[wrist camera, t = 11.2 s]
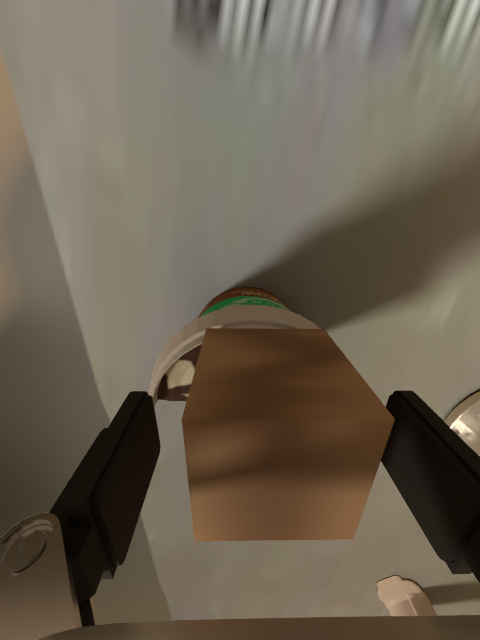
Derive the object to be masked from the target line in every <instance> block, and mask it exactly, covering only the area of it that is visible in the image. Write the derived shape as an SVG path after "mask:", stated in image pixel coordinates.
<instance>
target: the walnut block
mask: <svg viewBox="0 0 480 640" xmlns="http://www.w3.org/2000/svg"><path fill="white" fill-rule="evenodd" d="M394 421H395V419H394V417H393V416H392V415H391V413H390V412H389V411H388V410H387V408H386V407H385V406H384V405H383V403H382V402H381V401H380V400H379V398H378V397H377V396H376V394H375V393H374V392H373V391H372V389H371V388H370V387H369V386H368V384H367V383H366V382H365V380H364V379H363V378H362V377H361V375H360V374H359V373H358V372H357V370H356V369H355V368H354V367H353V365H352V364H351V363H350V361H349V360H348V359H347V358H346V356H345V355H344V354H343V353H342V351H341V350H340V349H339V347H338V346H337V345H336V344H335V342H334V341H333V340H332V339H331V337H330V336H329V335H328V333H327V332H326V331H325V330H324V329H252V328H206V331H205V335H204V338H203V342H202V346H201V350H200V353H199V357H198V361H197V365H196V368H195V372H194V376H193V380H192V383H191V387H190V391H189V395H188V398H187V402H186V406H185V410H184V413H183V417H182V425H183V435H184V444H185V454H186V464H187V473H188V483H189V492H190V502H191V511H192V521H193V530H194V540H195V541H242V540H330V539H353V538H354V535H355V532H356V530H357V527H358V524H359V521H360V518H361V515H362V512H363V510H364V507H365V504H366V501H367V498H368V495H369V492H370V489H371V487H372V484H373V481H374V478H375V475H376V472H377V469H378V467H379V464H380V461H381V458H382V455H383V452H384V449H385V446H386V444H387V441H388V438H389V435H390V432H391V429H392V426H393V424H394Z"/></svg>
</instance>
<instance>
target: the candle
mask: <svg viewBox="0 0 480 640" xmlns="http://www.w3.org/2000/svg"><path fill="white" fill-rule="evenodd" d="M376 585H377V586H378V588H379V589H378V593H377V594H378V596H379V598H380V599H381V600H382V601H383V602H384V603H385V605H386V606H387V607H388V609H389V611H390V613H391V615H392V616H437V614H436V612H435V610H434V608H433V606H432V605H431V603H430V601H429V599H428V597H427V595H426V594H425V593H424V592H423V591H422V590H421V589H420V587H419V586H418V585H417V584H415V583H414V582H412V581H411V580H407V579H401V578H400V577H399V576H392V577H390V578H386V579H384V580H381V581H379V582H378V583H377V584H376Z"/></svg>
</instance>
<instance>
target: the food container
mask: <svg viewBox="0 0 480 640" xmlns="http://www.w3.org/2000/svg"><path fill="white" fill-rule="evenodd" d="M206 328H252V329H321V328H319V327H318V326H317V325H316V324H315V323H313V322H311V321H310V320H308V319H306V318H304V317H302V316H301V315H299V314H296V313H293V312H292V311H291V310H290V309H289V308H288V307H287V306H286V305H285V304H284V303H283V302H282V301H281V300H280V299H278V298H277V297H276V296H275V295H274V294H272V293H270V292H267V291H265V290H263V289H259V288H254V287H240V288H234V289H231V290H228V291H225V292H223V293H221V294H219V295H218V296H216V297H215V298H213V299H212V300H211V301H210V302H209V303H208V304H207V305H206V307H205V308H204V309H203V311H202V312H201V314H200V315H199V317H198V318H197V319H195V320H194V321H192V322H191V323H189V324H187V325H186V326H184V327H183V328H182V329H181V330H180V331H179V332H177V333H176V334H175V335H174V336H173V337H172V338H171V339H170V340H169V342H168V343H167V344H166V346H165V347H164V348H163V350H162V351H161V353H160V355H159V357H158V359H157V361H156V364H155V367H154V371H153V374H152V379H151V385H150V390H149V395H151V396H152V398H153V404H154V406H155V404H156V402H157V401H158V399H160V400H168V401H187V398H188V395H189V391H190V387H191V383H192V380H193V376H194V372H195V368H196V365H197V361H198V357H199V353H200V350H201V346H202V342H203V338H204V335H205V331H206Z"/></svg>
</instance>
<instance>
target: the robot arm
mask: <svg viewBox="0 0 480 640" xmlns="http://www.w3.org/2000/svg"><path fill="white" fill-rule="evenodd" d="M386 408H387V410H388V411H389V412H390V413H391V415H392V416H393V417H394V419H395V421H394V424H393V426H392V429H391V432H390V435H389V438H388V441H387V444H386V446H385V449H384V452H383V455H382V458H381V461H382V463H383V465H384V466H385V468H386V470H387V472H388V473H389V475H390V477H391V478H392V480H393V482H394V483H395V485H396V487H397V488H398V490H399V492H400V493H401V495H402V497H403V498H404V500H405V502H406V504H407V505H408V507H409V509H410V510H411V512H412V514H413V515H414V517H415V519H416V520H417V522H418V524H419V525H420V527H421V529H422V530H423V532H424V534H425V535H426V537H427V539H428V541H429V542H430V544H431V546H432V547H433V549H434V551H435V552H436V554H437V555H438V556H439V558H440V559H442V560H443V561H445V562H446V564H447V565H448V567H449V569H450V570H451V572H452V574H471V572H473V574H474V575H475V577H476V578H477V580H478V581H479V585H480V391H479V392H477V393H475V394H473V395H472V396H470V397H468V398H467V399H466V400H464V401H463V402H461V403H460V404H459V405H458V406H457V407H456V408H455V409H454V410H453V411H452V412H451V413H450V414H449V415H448V417H447V418H446V419H445V421H443V420H442V419H441V418H440V417H439V416H438V415H437V414H436V413H435V412H434V411H433V410H432V409H431V408H430V407H429V406H428V405H427V404H426V403H425V402H424V401H423V400H422V399H421V398H420V397H419V396H418V395H417V394H416V393H414V392H413V391H395V392H393V394H392V395H390V396H389V399H388V402H387V405H386ZM159 453H160V440H159V434H158V428H157V422H156V416H155V410H154V404H153V398H152V396H151V395H148V393H147V392H146V391H132V392H130V393H129V394H128V396H127V398H126V399H125V401H124V402H123V404H122V406H121V407H120V409H119V411H118V412H117V414H116V416H115V417H114V419H113V420H112V422H111V424H110V426H109V427H108V428H104V429H103V430H102V431H101V432H100V433H99V435H98V436H97V438H96V440H95V441H94V443H93V444H92V446H91V448H90V449H89V450H88V452H87V454H86V455H85V457H84V458H83V460H82V461H81V463H80V465H79V466H78V468H77V469H76V471H75V473H74V474H73V476H72V477H71V479H70V480H69V482H68V483H67V485H66V487H65V488H64V490H63V492H62V493H61V495H60V496H59V498H58V499H57V501H56V502H55V504H54V506H53V507H52V509H51V510H50V512H49V513H39V514H35V515H32V516H30V517H28V518H26V519H24V520H22V521H20V522H19V523H18V524H16V525H15V526H13V527H12V528H11V529H9V530H8V532H6V533H5V534H4V535H3V536H2V537H1V538H0V640H480V615H459V616H375V617H315V618H262V619H219V620H177V621H156V622H134V623H114V624H105V625H98V622H97V618H96V613H95V608H94V604H93V599H92V596H93V595H94V594H95V593H96V590H97V588H98V585H99V582H100V580H101V579H113V577H114V574H115V571H116V568H117V565H122V564H123V562H124V560H125V557H126V555H127V552H128V549H129V545H130V542H131V539H132V536H133V533H134V530H135V527H136V524H137V521H138V518H139V515H140V512H141V509H142V506H143V503H144V500H145V497H146V493H147V490H148V487H149V484H150V481H151V478H152V475H153V472H154V469H155V466H156V463H157V460H158V457H159Z"/></svg>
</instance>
